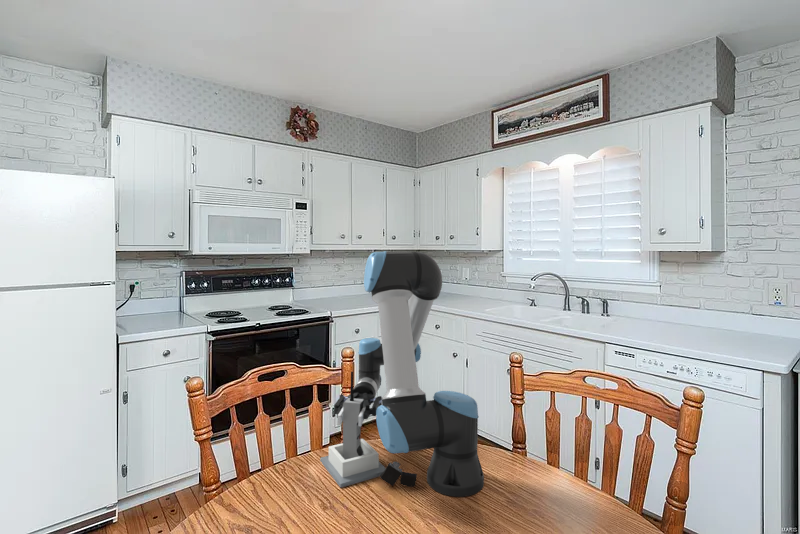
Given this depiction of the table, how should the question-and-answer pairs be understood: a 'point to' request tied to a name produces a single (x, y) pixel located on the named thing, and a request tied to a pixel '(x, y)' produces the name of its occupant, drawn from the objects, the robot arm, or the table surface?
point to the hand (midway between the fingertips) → (349, 420)
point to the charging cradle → (352, 465)
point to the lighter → (398, 475)
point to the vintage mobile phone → (351, 426)
